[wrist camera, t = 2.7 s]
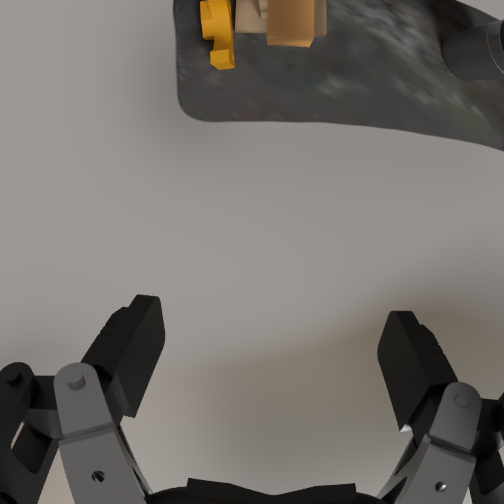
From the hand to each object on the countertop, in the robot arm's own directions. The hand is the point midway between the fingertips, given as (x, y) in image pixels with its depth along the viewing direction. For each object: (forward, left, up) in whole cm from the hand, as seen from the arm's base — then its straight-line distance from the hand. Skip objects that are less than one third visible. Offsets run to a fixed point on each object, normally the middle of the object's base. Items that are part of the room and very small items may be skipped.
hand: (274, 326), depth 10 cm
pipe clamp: (+9, -20, -43) cm, 48 cm away
